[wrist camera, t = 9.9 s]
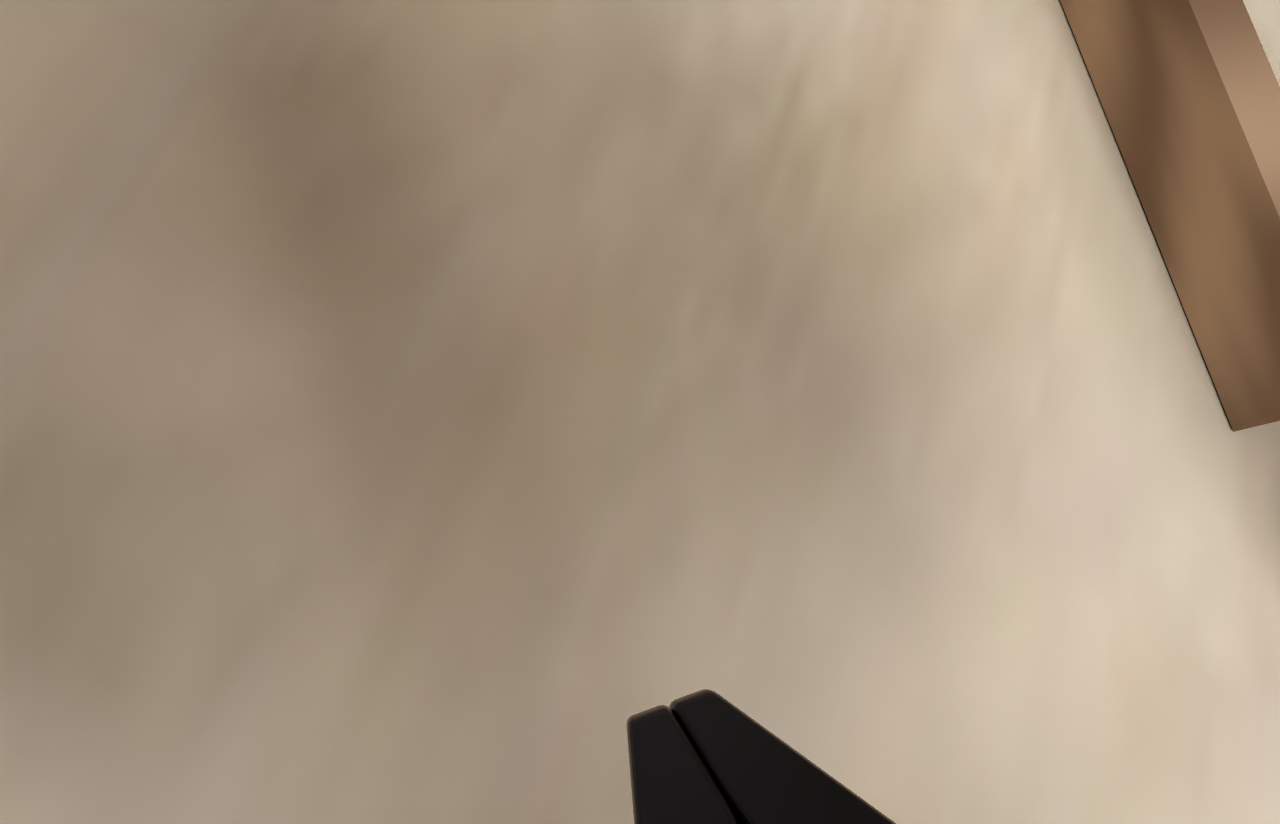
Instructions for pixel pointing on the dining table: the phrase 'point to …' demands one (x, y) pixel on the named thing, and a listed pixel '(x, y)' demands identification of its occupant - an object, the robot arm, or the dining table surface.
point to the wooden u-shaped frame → (1201, 172)
